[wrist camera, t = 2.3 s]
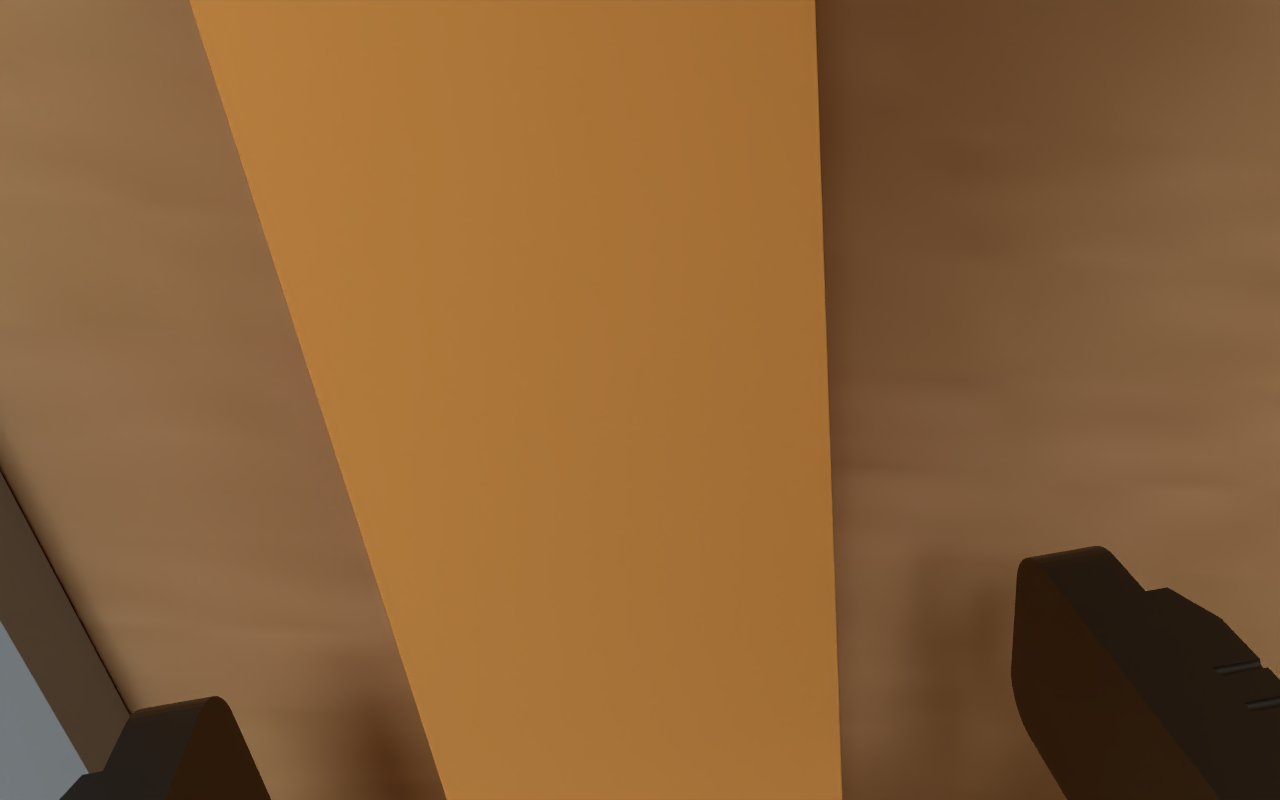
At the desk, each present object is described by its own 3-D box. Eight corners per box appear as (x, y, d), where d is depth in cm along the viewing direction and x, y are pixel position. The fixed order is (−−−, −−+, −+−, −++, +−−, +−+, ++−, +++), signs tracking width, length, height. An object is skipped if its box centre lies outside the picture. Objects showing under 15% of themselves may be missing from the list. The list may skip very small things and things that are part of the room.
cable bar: (225, -369, 8) (16, -536, 5) (682, -428, 9) (793, -630, 5) (560, 916, 17) (571, 1184, 14) (786, 876, 17) (854, 1131, 14)
